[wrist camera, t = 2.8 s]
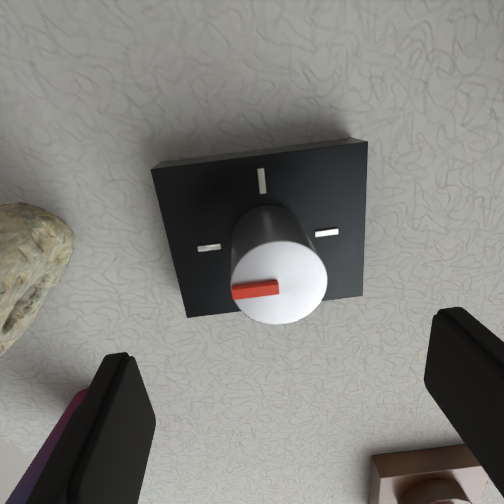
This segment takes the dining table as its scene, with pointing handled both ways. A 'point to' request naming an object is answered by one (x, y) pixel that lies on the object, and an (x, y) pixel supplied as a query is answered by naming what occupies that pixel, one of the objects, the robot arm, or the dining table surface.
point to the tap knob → (275, 267)
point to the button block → (427, 477)
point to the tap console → (258, 194)
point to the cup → (43, 455)
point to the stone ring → (28, 264)
